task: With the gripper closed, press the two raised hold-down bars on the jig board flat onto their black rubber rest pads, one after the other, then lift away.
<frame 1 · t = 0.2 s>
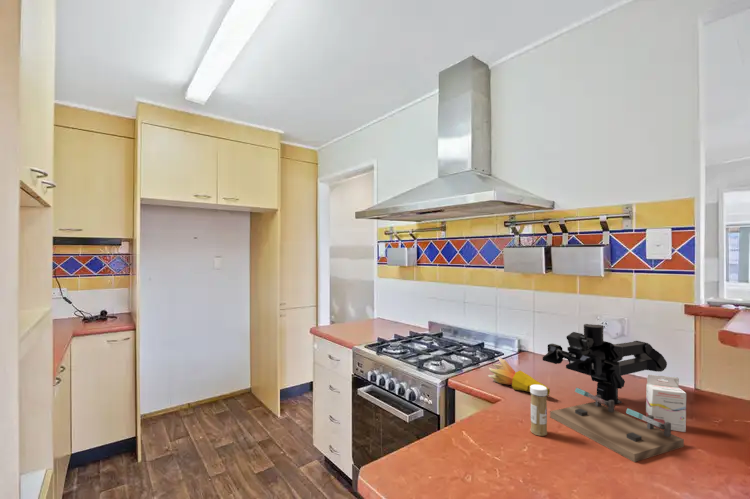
hand: (554, 362, 118), 17 cm above the worktop, tool horizontal, fingers open, 9 cm apart
jig board: (611, 430, 106), on the worktop
ink cartridge box: (665, 427, 109), on the worktop
bar a: (593, 397, 115), point 6 cm above the worktop, hinge at 25.0°
torch: (517, 390, 138), on the worktop
sprinkles bottle: (538, 433, 105), on the worktop
bar b: (646, 419, 100), point 6 cm above the worktop, hinge at 25.0°
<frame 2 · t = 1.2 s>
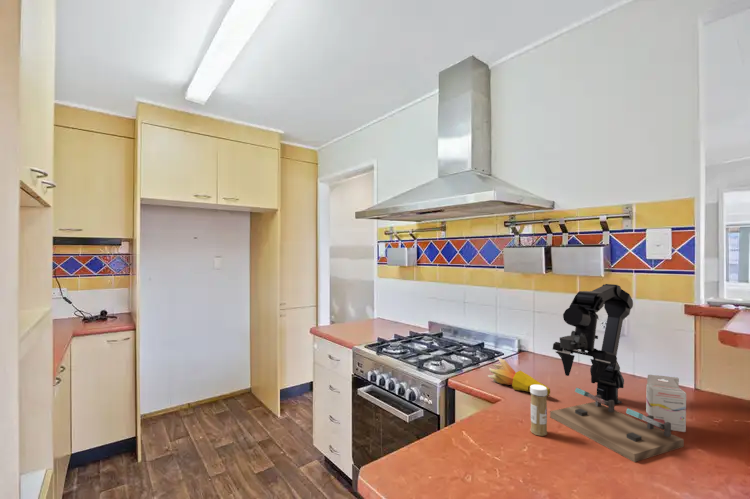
hand: (579, 379, 114), 13 cm above the worktop, tool tilted 15°, fingers open, 9 cm apart
nothing on the worktop moved.
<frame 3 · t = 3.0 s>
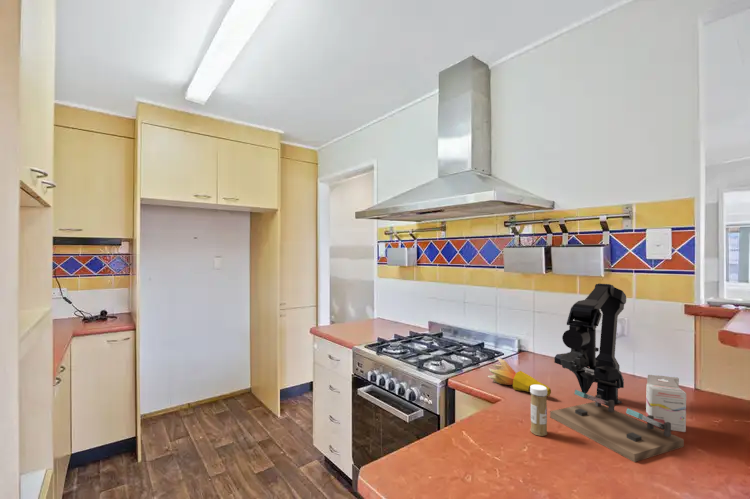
hand: (584, 393, 113), 8 cm above the worktop, tool pointing down, fingers closed, pressing on bar a
bar a: (592, 398, 115), point 6 cm above the worktop, hinge at 21.6°, touching gripper
everything else where it was.
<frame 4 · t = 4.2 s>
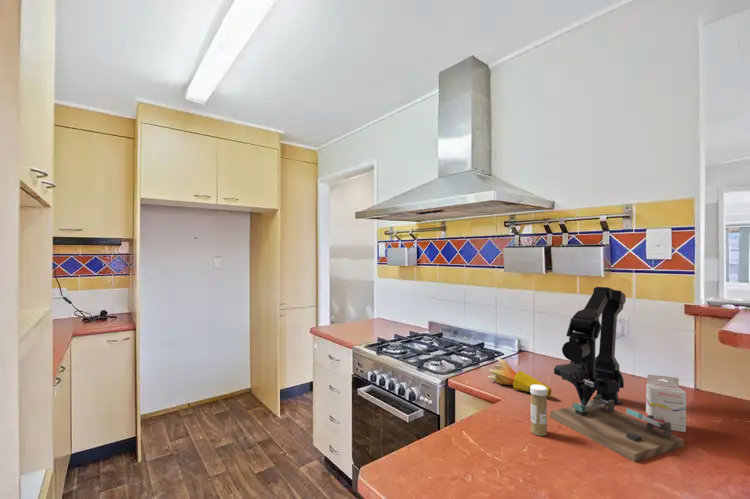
hand: (584, 405, 113), 5 cm above the worktop, tool pointing down, fingers closed, pressing on bar a
bar a: (592, 405, 115), point 4 cm above the worktop, hinge at 0.7°, touching gripper
everything else where it was.
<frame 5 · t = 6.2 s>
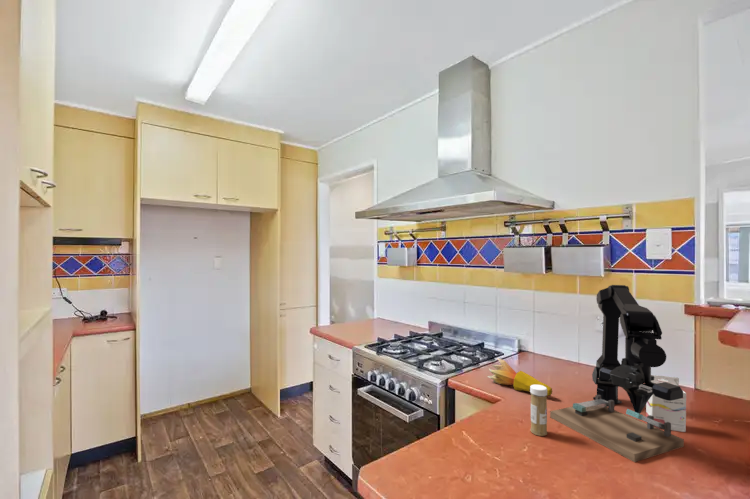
hand: (637, 413, 99), 9 cm above the worktop, tool pointing down, fingers closed, pressing on bar b
bar a: (592, 405, 115), point 4 cm above the worktop, hinge at 0.7°
bar b: (646, 419, 100), point 6 cm above the worktop, hinge at 24.3°, touching gripper
everything else where it was.
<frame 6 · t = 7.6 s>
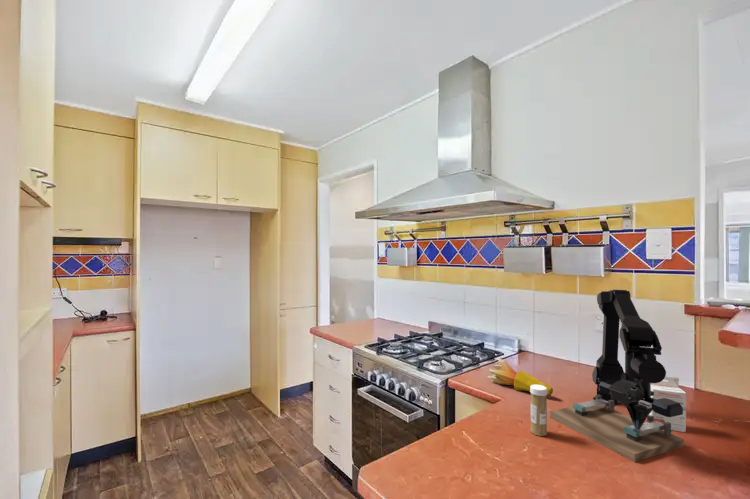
hand: (637, 428, 98), 5 cm above the worktop, tool pointing down, fingers closed, pressing on bar b
bar b: (645, 428, 100), point 4 cm above the worktop, hinge at 0.9°, touching gripper
everything else where it was.
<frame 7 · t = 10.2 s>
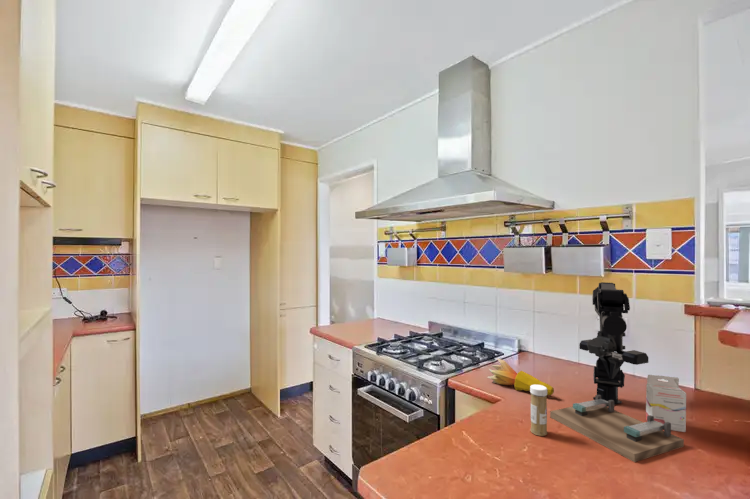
hand: (611, 378, 114), 13 cm above the worktop, tool pointing down, fingers closed
bar b: (645, 428, 100), point 4 cm above the worktop, hinge at 0.9°
at the end: bar a at +1° (first picture: +25°); bar b at +1° (first picture: +25°) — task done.
